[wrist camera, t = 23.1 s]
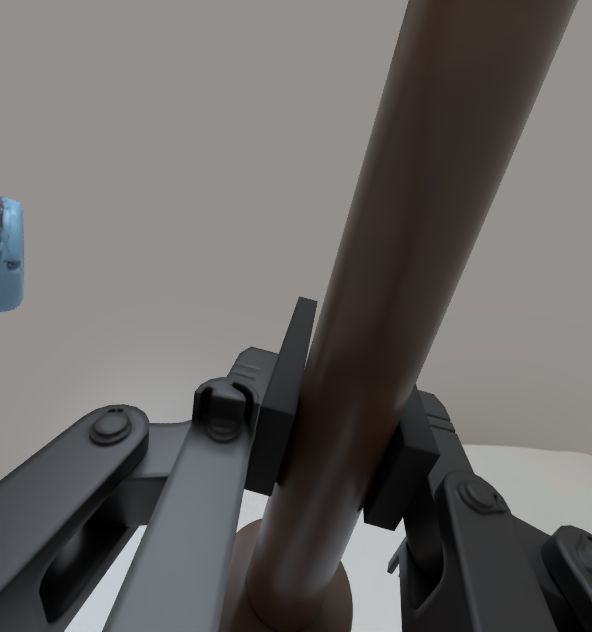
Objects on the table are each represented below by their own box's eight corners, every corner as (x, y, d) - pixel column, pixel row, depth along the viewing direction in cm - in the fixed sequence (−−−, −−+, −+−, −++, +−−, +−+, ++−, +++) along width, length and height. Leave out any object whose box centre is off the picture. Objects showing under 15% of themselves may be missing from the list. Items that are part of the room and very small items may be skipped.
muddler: (177, 689, 8) (425, -495, 2) (231, 528, 12) (368, -45, 7) (341, 742, 8) (1022, -399, 2) (339, 561, 12) (576, 1, 6)
